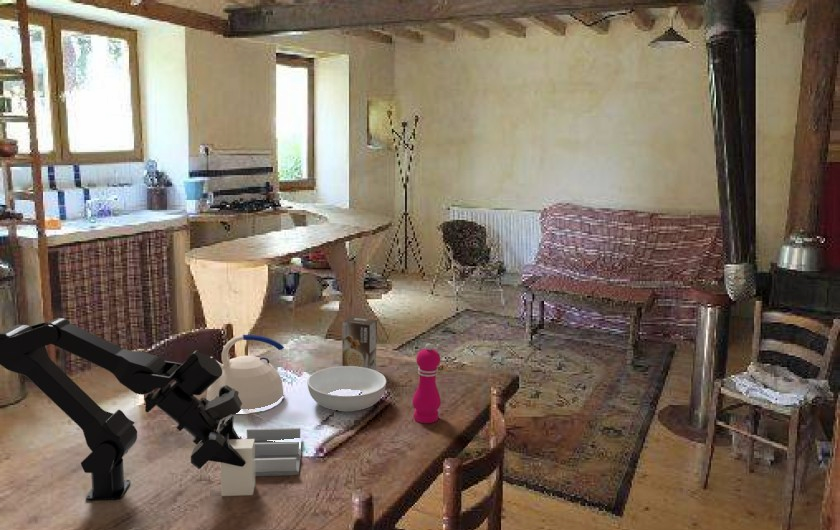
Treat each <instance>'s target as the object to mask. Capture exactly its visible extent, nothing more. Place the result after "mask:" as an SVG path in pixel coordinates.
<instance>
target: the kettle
mask: <svg viewBox="0 0 840 530" xmlns="http://www.w3.org/2000/svg"><path fill="white" fill-rule="evenodd" d="M243 340H244V341H257V342H262V343H265V344H268V345H271V347H272V346H273V347H274V348H276V349H277V350H279V351H283V350H284V349H285V347H284V345H282V344H281V343H280V342H278V341H276V340H274V339H272V338H269V337H265V336H262V335H255V334H241V335H237V336H234V337H232V338H231V339H230V340H228V341H227V343H225V345H224V346H223V349H222V352H221V362H222V363H221V362H219V361H218V360H216V361H217V362H218V363H219V365H220V367H221V369H222V375H221V376H220V377H219V378H218V379H217V380H216V381H215V382H214V383H213V384H212V385H211V386H210V387H208V388H207V389H206V399H207V400H208V401H211V400H213V399H215V397H216V396H218V397H219V390H220V388H221V387H223V386H225V385H228V386H229V387H230V388H232V389H235V390H236V391H238V392H239V394H238V396H239V398H240V400H241V402H242V405H241V407H240V408H241V409H248V410H249V409H255V408H261V407H265V406H268V405H271V404H273V403H275V402H277V401H278V400H279V399H280V398H281V397H282V396H283V394H284V385H283V379H282V378H281V375H280V373H279V372H278V371H277V369H276V368H275V367H274V366H273V365H272V364H271V363H270V360H269V359H268V357H265V356H264V357H257V356H253V355H239V356H235V357H233V358H230V357H229V352H230V349H231V348H232V346H233V345H234V344H237V342H240V341H243ZM210 357H211V358H213V356H210ZM229 358H230V359H229Z"/></svg>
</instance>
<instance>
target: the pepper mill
mask: <svg viewBox="0 0 840 530" xmlns="http://www.w3.org/2000/svg"><path fill="white" fill-rule="evenodd" d="M416 364H417V365H418V367H417V370H418V371H417V374H418V376H419V379H418V380H419V381H418V382H419V383H418V385H417V389H416V390H415V392H414V393H413V397H412V406H413V408H414V411H413V419H414V420H415V421H416V422H417V423H421V424H433V423H435V422H437V421H438V419H439V409H440V407H441V404H442V401H441V396H440V392H439V390H438V387H437V382H436V378H437V375H438V373H439V372H438V371H439V369H438V366H439V365H440V364H441V356H440V353H439V352H438V351H437V350H436V349H433V345H432V344H431V343H429V342H428V343H426V344H425V348H424V349H421V350H420V351H418V352H417V355H416Z"/></svg>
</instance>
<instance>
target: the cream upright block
mask: <svg viewBox="0 0 840 530" xmlns="http://www.w3.org/2000/svg"><path fill="white" fill-rule="evenodd" d="M229 443H230V445H231V446H232V447H233V448H234V449H235V450H236V451H237V452H238V454H239V455H240V456H241V457H242V458H243V459H244V460H245V462H246V464H245V465H244V466H243V467H240V466H235V465H231V464H226V463H221V462H220V486H221V487H220V488H221V489H220V490H221V491H220V492H221V495H220V496H221V497H233V496H234V497H235V496H253V495H254V492H255V488H256V476H255V439H247V438H240V439H229Z"/></svg>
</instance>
